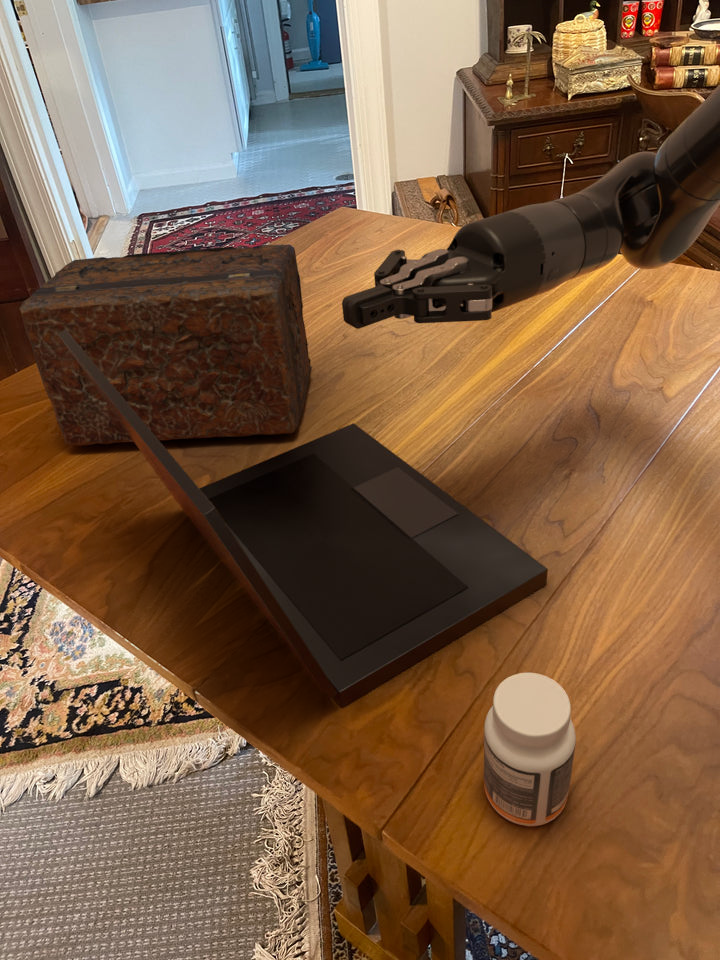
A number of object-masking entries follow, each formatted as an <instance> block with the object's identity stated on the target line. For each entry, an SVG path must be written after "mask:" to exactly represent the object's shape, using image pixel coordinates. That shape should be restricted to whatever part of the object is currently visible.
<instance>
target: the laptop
mask: <svg viewBox="0 0 720 960" xmlns="http://www.w3.org/2000/svg"><path fill="white" fill-rule="evenodd" d="M198 488H199V489H200V490H201V491H202V492H203V494H204V495H205V496H206V497H207V498H208V499H209V501H210V502H211V503H212V504H213V505H214V507H215V508H216V509H217V511H218V512H219V514H220V515H221V517H222V518H223V520H224V522H225V523H226V525H227V526H228V528H229V529H230V531H231V532H232V534H233V535H234V537H235V538H236V540H237V541H238V543H239V544H240V546H241V547H242V549H243V550H244V552H245V553H246V555H247V556H248V558H249V559H250V561H251V562H252V564H253V565H254V567H255V568H256V570H257V571H258V573H259V575H260V576H261V578H262V579H263V581H264V582H265V584H266V585H267V587H268V588H269V590H270V591H271V593H272V594H273V596H274V597H275V599H276V600H277V602H278V603H279V605H280V606H281V608H282V609H283V611H284V612H285V614H286V615H287V617H288V618H289V620H290V621H291V623H292V624H293V626H294V627H295V629H296V631H297V632H298V634H299V635H300V637H301V638H302V640H303V641H304V643H305V644H306V646H307V647H308V649H309V650H310V652H311V653H312V655H313V656H314V658H315V659H316V661H317V662H318V664H319V665H320V667H321V668H322V670H323V671H324V673H325V674H326V676H327V677H328V679H329V680H330V682H331V684H332V685H333V687H334V688H335V690H336V691H337V694H336V695H335V696H334V697H333V699H334V700H335V702H337V704H338V705H339V706H340V708H341V709H342V708H345V707H346V706H347V705H350V704H351V703H353V702H354V701H356V700H358V699H360V698H361V697H362V696H364V695H366V694H368V693H370V692H372V691H373V690H375V689H376V688H378V687H379V686H382V684H384V683H386V682H388V681H389V680H391V679H393V678H394V677H396V676H398V675H399V674H401V673H403V672H404V671H406V670H408V669H409V668H411V667H412V666H414V665H416V664H418V663H419V662H421V661H422V660H424V659H425V658H428V657H429V656H431V655H432V654H434V653H436V652H438V651H439V650H440V649H443V648H444V647H445V646H448V645H449V644H451V643H452V642H454V641H455V640H457V639H459V638H461V637H463V636H465V634H467V633H469V632H470V631H472V630H474V629H475V628H477V627H479V626H481V625H482V624H483V623H486V622H487V621H489V620H490V619H492V618H493V617H495V616H497V615H499V614H500V613H503V611H505V610H507V609H509V608H510V607H512V606H514V605H515V604H517V603H518V602H520V601H522V600H523V599H525V598H527V597H529V596H530V595H532V594H534V593H535V592H537V591H538V590H540V589H542V588H544V587H545V586H547V582H548V571H549V569H548V568H547V567H546V566H545V565H543V564H542V563H541V562H540V561H538V560H537V559H535V558H534V557H532V555H530V554H529V553H527V552H526V551H525V550H523V549H522V548H521V547H519V546H518V545H517V544H515V543H514V542H513V541H511V540H510V539H509V538H508V537H506V536H505V535H503V534H502V533H501V532H499V531H498V530H497V529H496V528H494V527H493V526H491V524H489V523H488V522H486V521H485V520H483V518H481V517H479V516H478V515H477V514H475V513H474V512H473V511H471V510H470V509H469V508H468V507H466V506H465V505H463V504H462V503H461V502H459V501H458V500H457V499H455V498H454V497H453V496H452V495H450V494H449V493H447V492H446V491H445V490H443V489H442V488H441V487H440V486H438V485H437V484H435V483H434V482H433V481H431V480H430V479H429V478H427V477H426V476H425V475H424V474H422V473H421V472H420V471H418V470H416V469H415V467H413V466H412V465H411V464H409V463H408V462H406V461H405V460H404V459H402V458H401V457H400V456H399V455H397V454H395V453H394V452H393V451H391V450H390V449H389V448H387V446H385V445H383V443H381V442H380V441H378V440H377V439H376V438H375V437H373V436H371V434H369V433H368V432H366V431H365V430H364V429H362V428H361V427H360V426H358V425H357V424H356V423H350V424H348V425H346V426H343V427H340V428H338V429H336V430H333V431H331V432H329V433H326V434H325V435H323V436H320V437H317V438H315V439H312V440H310V441H307V442H305V443H304V444H301V445H298V446H296V447H294V448H291V449H289V450H287V451H285V452H281V453H280V454H279V453H278V454H277V455H275V456H272V457H270V458H268V459H265V460H263V461H261V462H258V463H256V464H254V465H251V466H248V467H247V468H244V469H241V470H239V471H237V472H235V473H232V474H230V475H228V476H226V477H223V478H221V479H219V480H216V481H213V482H211V483H209V484H206V485H204V486H202V487H198Z"/></svg>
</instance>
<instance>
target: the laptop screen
mask: <svg viewBox="0 0 720 960" xmlns="http://www.w3.org/2000/svg"><path fill="white" fill-rule="evenodd" d="M58 335H59V337H60V338H61V340H62V341H63V342H64V344H65V345H66V347H67V348H68V349H69V351H70V352H71V354H72V355H73V356H74V358H75V359H76V361H77V362H78V363H79V365H80V366H81V368H82V369H83V371H84V372H85V373H86V375H87V376H88V378H89V379H90V380H91V382H92V383H93V385H94V386H95V387H96V389H97V390H98V392H99V393H100V395H101V396H102V397H103V399H104V400H105V402H106V403H107V404H108V406H109V407H110V409H111V410H112V411H113V413H114V414H115V416H116V417H117V418H118V420H119V421H120V423H121V424H122V426H123V427H124V428H125V430H126V431H127V433H128V434H129V435H130V437H131V438H132V440H133V441H134V442H133V443H134V444H135V445H136V447H137V448H138V450H139V451H140V452H141V454H142V455H143V457H145V459H146V461H147V462H148V463H149V465H150V466H151V468H152V469H153V471H154V472H155V474H156V475H157V477H158V478H159V479H160V480H161V482H162V483H163V485H164V487H165V488H166V489H167V491H168V492H169V494H170V495H171V496H172V498H173V499H174V500H175V502H176V503H177V504H178V505H179V507H180V509H181V510H182V511H183V512H184V513H185V515H186V516H187V517H188V518H189V520H190V521H191V522H192V524H193V525H194V527H195V528H196V529H197V530H198V531H199V532H200V534H201V535H202V537H203V538H204V539H205V541H206V542H207V543H208V544H209V546H210V547H211V548H212V549H213V550H214V552H215V553H216V554H217V556H218V557H219V559H220V560H221V562H222V563H224V565H225V566H226V568H227V570H229V572H230V573H231V574H232V576H233V577H234V578H235V580H237V582H238V584H239V585H240V586H241V587H242V588H243V590H244V591H245V592H246V594H247V595H248V596H249V598H250V599H251V600H252V601H253V603H254V604H255V605H256V606H257V608H258V609H259V610H260V612H261V613H262V614H263V615H264V617H265V618H266V620H267V621H268V622H269V623H270V624H271V626H272V627H273V628H274V630H275V631H276V632H277V634H278V636H279V637H280V638H281V639H282V640H283V641H284V643H285V644H286V645H287V647H288V649H290V651H291V652H292V653H293V654H294V656H295V657H296V658H297V660H298V661H299V662H300V663H301V665H302V666H303V667H304V669H305V670H306V672H307V673H308V674H309V675H310V676H311V678H312V679H313V681H314V682H315V683H316V684H317V685H318V687H319V689H321V691H322V692H323V693H324V694H325V696H326V697H327V699H329V700H331V699H334V696H335V695H336V694H337V691H336V690H335V688H334V687H333V685H332V684H331V682H330V680H329V679H328V677H327V676H326V674H325V673H324V671H323V670H322V668H321V667H320V665H319V664H318V662H317V661H316V659H315V658H314V656H313V655H312V653H311V652H310V650H309V649H308V647H307V646H306V644H305V643H304V641H303V640H302V638H301V637H300V635H299V634H298V632H297V631H296V629H295V627H294V626H293V624H292V623H291V621H290V620H289V618H288V617H287V615H286V614H285V612H284V611H283V609H282V608H281V606H280V605H279V603H278V602H277V600H276V599H275V597H274V596H273V594H272V593H271V591H270V590H269V588H268V587H267V585H266V584H265V582H264V581H263V579H262V578H261V576H260V575H259V573H258V571H257V570H256V568H255V567H254V565H253V564H252V562H251V561H250V559H249V558H248V556H247V555H246V553H245V552H244V550H243V549H242V547H241V546H240V544H239V543H238V541H237V540H236V538H235V537H234V535H233V534H232V532H231V531H230V529H229V528H228V526H227V525H226V523H225V522H224V520H223V518H222V517H221V515H220V514H219V512H218V511H217V509H216V508H215V507H214V505H213V504H212V503H211V502H210V501H209V499H208V498H207V497H206V496H205V495H204V494H203V492H202V491H201V490H200V489H199V488H200V487H199V486H198V485H197V484H196V483H195V482H194V480H193V479H192V478H191V477H190V476H189V475H188V473H187V472H186V471H185V470H184V468H183V467H182V466H181V465H180V463H178V461H177V460H176V459H175V458H174V456H173V455H172V454H171V453H170V452H169V451H168V449H167V448H166V447H165V446H164V444H162V442H161V440H158V439H157V438H156V436H155V435H154V434H153V433H152V432H151V430H150V429H149V428H148V427H147V426H146V424H145V423H144V422H143V421H142V420H141V418H140V417H139V416H138V415H137V414H136V413H135V411H134V410H133V409H132V408H131V407H130V405H129V404H128V403H127V402H126V401H125V399H124V398H123V397H122V396H121V395H120V393H119V392H118V391H117V390H116V389H115V387H114V386H113V385H112V384H111V383H110V382H109V380H108V379H107V378H106V377H105V376H104V374H103V373H102V372H101V371H100V370H99V368H98V367H97V366H96V365H95V364H94V362H93V361H92V360H91V359H90V358H89V356H88V355H87V354H86V353H85V352H84V351H83V349H82V348H81V347H80V346H79V345H78V343H77V342H76V341H75V340H74V339H73V337H72V336H71V335H70V334H69V333H68V331H67V330H63V331H62V332H60V333H58Z"/></svg>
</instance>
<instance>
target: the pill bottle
mask: <svg viewBox="0 0 720 960" xmlns="http://www.w3.org/2000/svg"><path fill="white" fill-rule="evenodd" d="M493 694H494V695H493V698H492V705H491V707H490V708H489V710H488V712H487V714H486V716H485V719H484V723H483V788H484V793H485V795H486V798H487V800H488V802H489V803H490V805H491V806H492V808H493V809H494V811H495V812H497V813H498V814H499V815H500V816H501V817H503V818H504V819H506V820H508V822H511V823H513V824H516V825H521V826H524V827H525V826H526V827H537V826H542V825H546V824H548V823H550V822H551V821H553V820H555V819H556V818H557V817H558V816H559V815H560V814H561V813H562V811H563V810H564V808H565V806H566V804H567V801H568V798H569V797H568V796H569V792H570V785H571V778H572V773H573V772H572V771H573V766H574V765H573V764H574V759H575V752H576V745H577V744H576V743H577V735H576V729H575V726H574V723H573V720H572V718H571V717H572V706H571V700H570V698H569V695H568V693H567V692H566V690H565V689H564V688H563V687H562V685H560V683H558V682H557V681H556V680H554V679H552V678H551V677H549V676H546V675H544V674H540V673H538V672H520V673H516V674H513V675H510V676H508V677H506V678H505V679H504V680H502V681H501V682H500V683H499V684H498V686H497V687H496V689H495V691H494V693H493Z"/></svg>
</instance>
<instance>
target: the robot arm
mask: <svg viewBox="0 0 720 960" xmlns="http://www.w3.org/2000/svg"><path fill="white" fill-rule="evenodd" d="M719 206H720V83H719V84H718V85H717V86H716V87H715V89H714V90H712V91H711V93H710V94H709V95H708V96H707V97H706V98H705V100H703V101H702V102H701V103H699V105H698V106H697V107H696V108H695V109H694V110H693V111H692V112H691V113H690V114H689V115H688V116H687V117H686V118H685V119H684V120H683V121H682V122H681V123H680V124H679V126H677V127H676V128H675V130H673V132H672V133H671V134H670V135H669V136H668V137H667V138H666V139H665V140H664V141H663V142H662V143H661V145H660V146H659V148H658V150H657V152H654V151H647V150H646V151H644V150H643V151H639V152H635V153H632V154H630V155H629V156H627V157H625V158H624V159H622V160H621V161H619V162H618V163H616V164H615V165H614V166H613V167H611V168H610V169H609V170H608V171H607V172H606V173H604V174H602V176H601V177H600V178H598V180H596V181H595V182H593V183H591V184H590V185H589V186H587V187H584V188H583V189H581V190H580V191H577V192H575V193H572V194H569V195H566V196H563V197H560V198H557V199H554V200H550V201H546V202H541V203H534V204H527V205H524V206H520V207H518V208H513V209H510V210H507V211H505V212H501V213H498V214H495V215H491V216H488V217H485V218H481V219H477V220H475V221H472V222H469V223H467V224H464V225H463V226H462V227H460V229H458V230H457V232H456V233H455V235H454V236H453V239H452V241H451V242H450V244H449V245H448V247H447V248H446V249H445V248H438V249H435V250H432V251H429V252H427V253H425V254H424V255H422V256H421V257H420V258H419V259H412V258H411V259H409V258H408V256H407V255H406V251H405V250H403V249H394V250H392V251H391V252H390V253H389V254H388V255H387V257H386V258H385V259H384V260H383V261H382V263H381V264H380V265H379V266H378V268H376V270H375V271H374V273H373V276H374V277H373V279H374V286H373V287H371V288H367V289H365V290H362V291H358V292H355V293H352V294H349V295H347V296H344V297H343V299H342V301H341V306H342V307H341V309H342V317H343V322H344V323H345V324H348V325H349V326H351V327H352V328H355V329H357V330H359V329H362V328H365V327H368V326H372V325H374V324H377V323H379V322H381V321H384V320H387V319H390V318H393V317H394V318H395V319H398V320H404V319H407V318H410V317H413V322H414V323H416V324H437V323H438V324H439V323H459V322H460V323H461V322H481V321H483V322H484V321H489V320H490V319H492V317H493V316H492V314H493V313H495V312H498V311H500V310H502V309H505V308H508V307H510V306H514V305H515V304H518V303H521V302H523V301H526V300H529V299H531V298H534V297H537V296H540V295H543V294H545V293H548V292H550V291H552V290H554V289H556V288H557V287H559V286H560V285H562V284H564V283H566V282H568V281H571V280H574V279H576V278H579V277H581V276H584V275H586V274H589V273H592V272H595V271H597V270H599V269H602V268H604V267H606V266H607V265H609V264H611V262H612V261H614V260H615V259H616V258H617V256H618V255H619V253H621V256H622V257H623V258H624V260H625V261H626V262H627V263H628V264H629V265H630V266H632V267H634V268H637V269H640V270H655V269H660V268H662V267H664V266H666V265H669V264H671V263H673V262H674V261H675V260H677V259H678V258H679V257H681V256H682V255H683V254H684V253H685V252H686V251H688V249H690V247H691V246H692V245H693V244H694V243H695V241H696V240H697V239H698V238H699V236H700V235H701V234H702V232H703V231H704V229H705V227H706V226H707V225H708V223H709V221H710V219H711V218H712V216H713V214H714V213H715V212H716V210H717V209H718V208H719Z"/></svg>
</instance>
